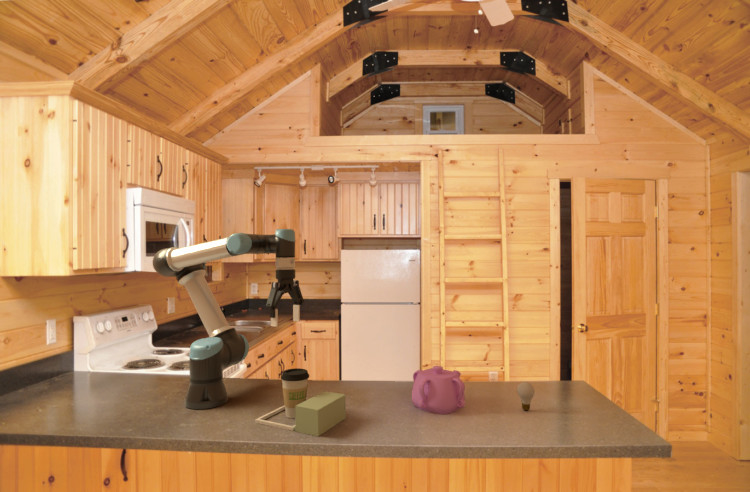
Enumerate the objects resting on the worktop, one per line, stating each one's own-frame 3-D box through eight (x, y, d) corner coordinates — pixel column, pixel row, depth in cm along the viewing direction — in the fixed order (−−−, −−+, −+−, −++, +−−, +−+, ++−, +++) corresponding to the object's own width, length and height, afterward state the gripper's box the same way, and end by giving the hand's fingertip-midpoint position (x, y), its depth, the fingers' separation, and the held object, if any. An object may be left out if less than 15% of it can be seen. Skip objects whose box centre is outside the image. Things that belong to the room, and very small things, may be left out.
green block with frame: (255, 422, 147) (254, 398, 147) (286, 407, 162) (286, 384, 162) (318, 436, 136) (317, 410, 136) (345, 418, 150) (345, 394, 150)
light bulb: (534, 408, 158) (534, 380, 158) (535, 414, 152) (534, 385, 153) (517, 407, 160) (517, 379, 160) (517, 412, 154) (516, 383, 154)
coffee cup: (303, 421, 148) (303, 376, 148) (275, 419, 150) (275, 374, 150) (313, 411, 157) (313, 368, 158) (287, 409, 159) (287, 367, 160)
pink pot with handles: (412, 415, 153) (412, 373, 153) (411, 395, 174) (410, 358, 174) (468, 416, 152) (468, 374, 152) (460, 396, 173) (460, 359, 173)
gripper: (272, 270, 159) (272, 329, 159) (312, 267, 181) (312, 319, 181) (255, 269, 163) (256, 328, 162) (297, 267, 185) (297, 318, 185)
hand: (285, 323), depth 172 cm, fingers open, 13 cm apart
